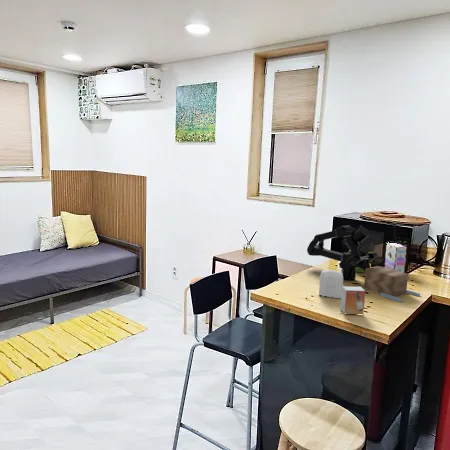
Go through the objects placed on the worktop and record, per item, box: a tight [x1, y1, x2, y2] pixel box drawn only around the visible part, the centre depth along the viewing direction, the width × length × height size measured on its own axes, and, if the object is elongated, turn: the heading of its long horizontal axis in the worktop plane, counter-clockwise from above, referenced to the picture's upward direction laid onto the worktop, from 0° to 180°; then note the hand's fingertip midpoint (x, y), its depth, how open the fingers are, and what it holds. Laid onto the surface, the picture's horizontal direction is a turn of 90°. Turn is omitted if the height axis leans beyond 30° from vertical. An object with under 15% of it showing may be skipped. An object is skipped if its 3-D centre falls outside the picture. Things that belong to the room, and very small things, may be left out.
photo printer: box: [318, 269, 344, 299], centre depth 177 cm, size 10×4×12 cm, turn 72°
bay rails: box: [379, 289, 421, 303], centre depth 181 cm, size 10×16×1 cm, turn 124°
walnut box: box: [363, 265, 409, 298], centre depth 186 cm, size 16×10×10 cm, turn 34°
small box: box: [339, 285, 366, 315], centre depth 158 cm, size 8×6×10 cm
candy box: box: [384, 241, 408, 273], centre depth 217 cm, size 14×6×16 cm, turn 179°
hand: (370, 273), depth 193 cm, fingers closed
